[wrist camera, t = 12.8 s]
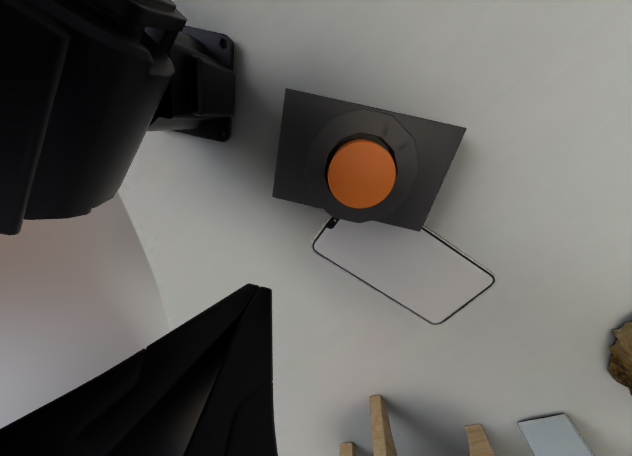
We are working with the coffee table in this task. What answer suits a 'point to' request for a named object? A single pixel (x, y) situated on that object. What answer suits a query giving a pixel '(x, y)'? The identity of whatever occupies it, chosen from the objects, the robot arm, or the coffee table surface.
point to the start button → (361, 173)
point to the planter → (384, 441)
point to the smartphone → (405, 266)
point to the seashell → (622, 356)
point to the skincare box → (554, 437)
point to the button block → (361, 123)
